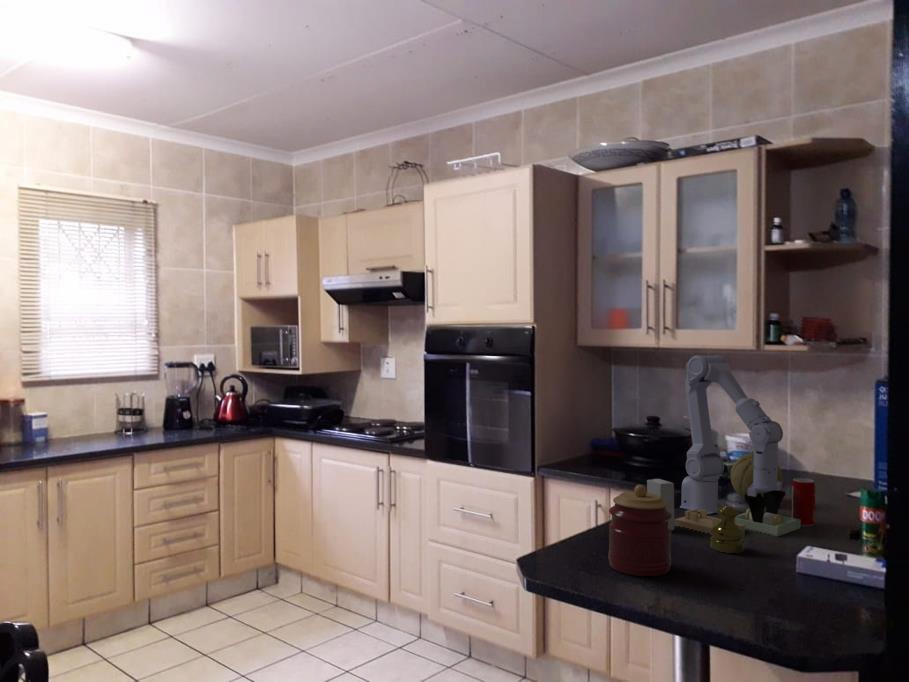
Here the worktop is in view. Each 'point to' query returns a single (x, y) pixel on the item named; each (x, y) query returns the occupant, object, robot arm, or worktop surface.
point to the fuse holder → (700, 521)
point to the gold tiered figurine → (727, 532)
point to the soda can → (803, 501)
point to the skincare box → (663, 494)
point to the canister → (640, 534)
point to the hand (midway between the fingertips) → (764, 520)
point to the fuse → (766, 518)
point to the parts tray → (777, 530)
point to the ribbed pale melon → (746, 474)
